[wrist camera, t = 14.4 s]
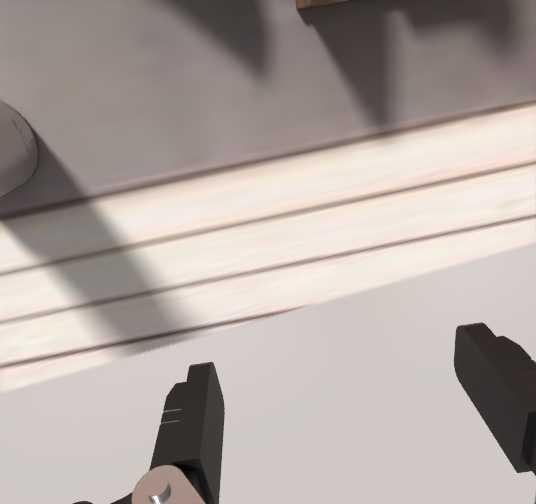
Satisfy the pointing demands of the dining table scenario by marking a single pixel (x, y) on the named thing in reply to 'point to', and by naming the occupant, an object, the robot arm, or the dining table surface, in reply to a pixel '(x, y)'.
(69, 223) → the dining table surface
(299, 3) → the wooden shelf
